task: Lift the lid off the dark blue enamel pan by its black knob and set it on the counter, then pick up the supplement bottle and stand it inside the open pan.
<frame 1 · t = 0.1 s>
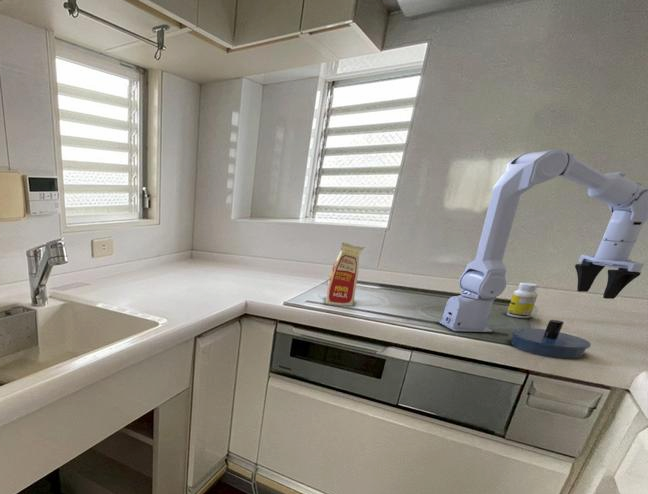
hand: (595, 294, 104), 10 cm above the countertop, tool pointing down, fingers open, 7 cm apart
pot lid: (549, 339, 96), point 2 cm above the countertop, touching pot
pot: (545, 348, 97), on the countertop
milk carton: (339, 302, 138), on the countertop
supplement bottle: (517, 316, 122), on the countertop
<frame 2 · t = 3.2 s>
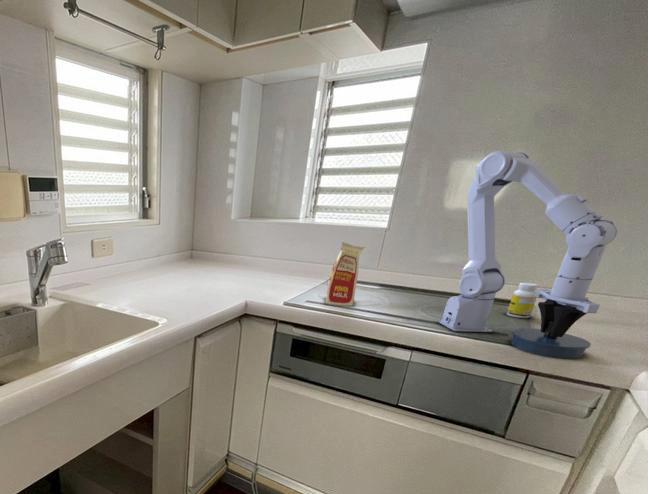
hand: (551, 334, 95), 4 cm above the countertop, tool pointing down, fingers closed on pot lid, 2 cm apart
pot lid: (549, 339, 96), point 2 cm above the countertop, touching gripper, pot
everything else where it was.
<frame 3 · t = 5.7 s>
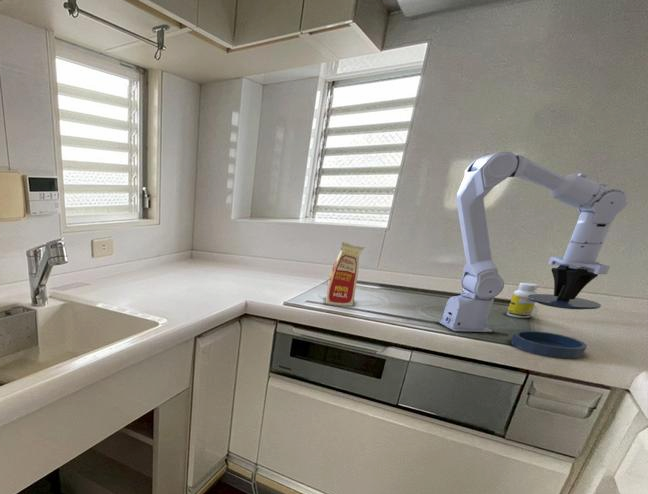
hand: (563, 297, 103), 10 cm above the countertop, tool pointing down, fingers closed on pot lid, 2 cm apart
pot lid: (562, 302, 103), point 9 cm above the countertop, touching gripper
everything else where it was.
when the fingers open (2 cm above the countertop, at t = 8.0 s): pot lid stays where it is, point 1 cm above the countertop.
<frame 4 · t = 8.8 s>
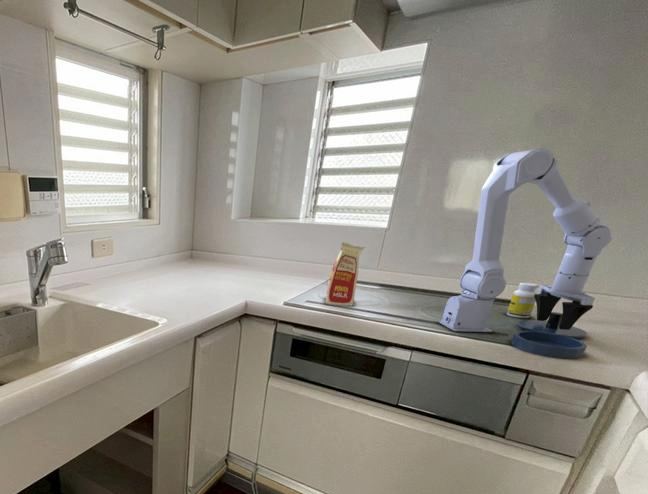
hand: (552, 324, 108), 2 cm above the countertop, tool pointing down, fingers open, 7 cm apart
pot lid: (550, 329, 108), point 1 cm above the countertop
everything else where it was.
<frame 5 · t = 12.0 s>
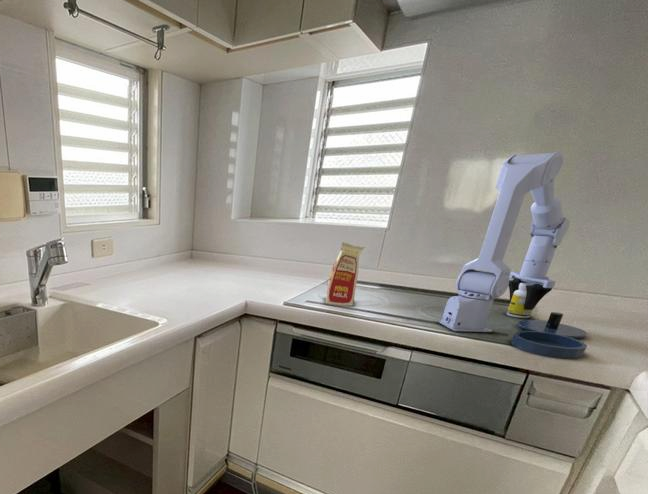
hand: (521, 306, 121), 3 cm above the countertop, tool pointing down, fingers closed on supplement bottle, 5 cm apart
supplement bottle: (517, 316, 122), on the countertop, touching gripper
everything else where it was.
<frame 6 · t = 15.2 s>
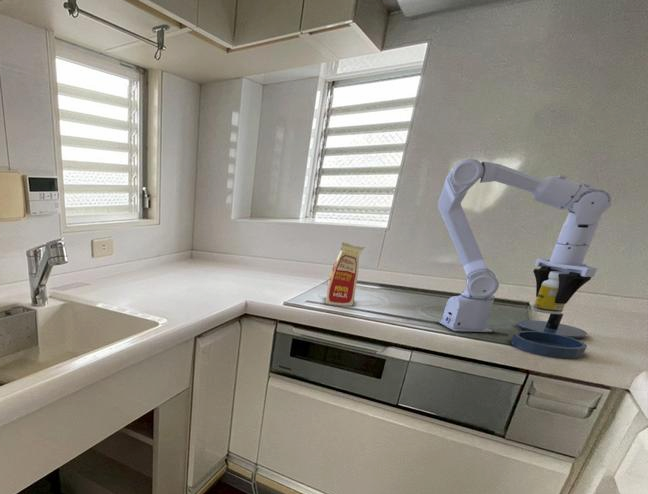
hand: (550, 300, 100), 10 cm above the countertop, tool pointing down, fingers closed on supplement bottle, 5 cm apart
supplement bottle: (546, 312, 101), point 7 cm above the countertop, touching gripper
everything else where it was.
when the fingers open (3 cm above the countertop, at t = 18.5 s): supplement bottle stays where it is, resting on pot.
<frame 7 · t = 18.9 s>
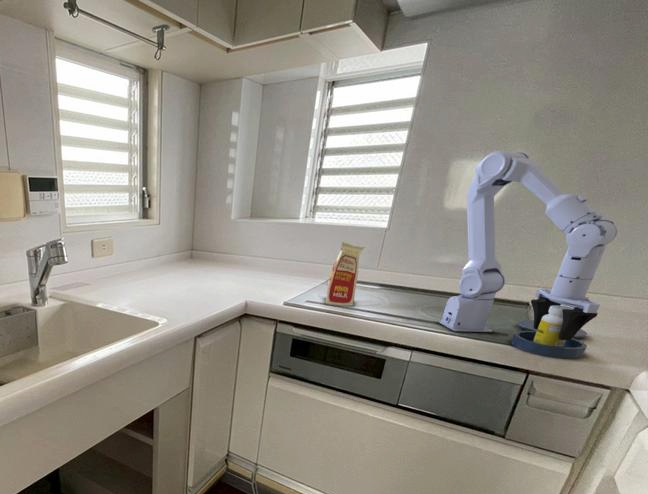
hand: (551, 334, 95), 4 cm above the countertop, tool pointing down, fingers open, 7 cm apart
supplement bottle: (546, 347, 97), resting on pot
everything else where it was.
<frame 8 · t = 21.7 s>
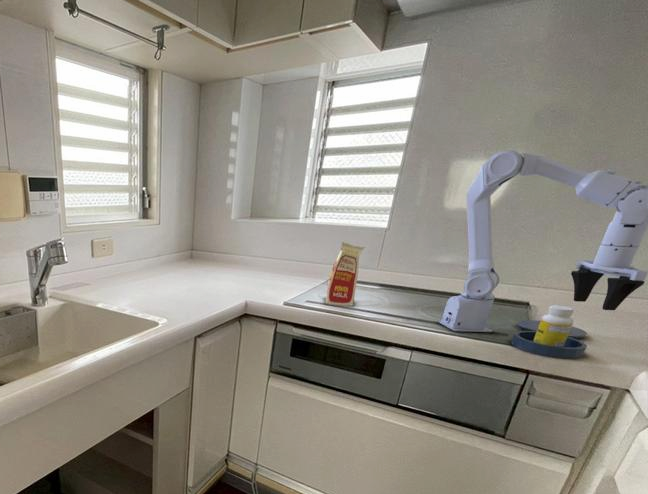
hand: (593, 305, 94), 10 cm above the countertop, tool pointing down, fingers open, 7 cm apart
nothing on the countertop moved.
at the end: pot lid point 0.6 cm above the countertop; supplement bottle 0.1 cm off-centre in the pot, point 0.2 cm above the pot's base; supplement bottle tilted 0° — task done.
